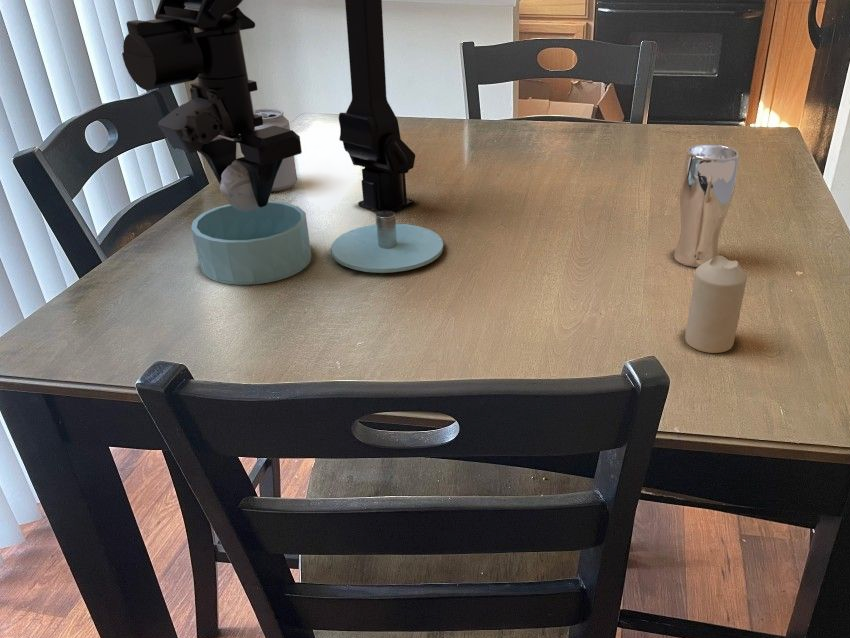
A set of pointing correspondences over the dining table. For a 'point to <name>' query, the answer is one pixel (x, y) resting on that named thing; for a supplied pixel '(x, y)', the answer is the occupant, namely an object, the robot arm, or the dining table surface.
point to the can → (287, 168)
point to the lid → (387, 246)
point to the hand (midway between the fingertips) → (246, 200)
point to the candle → (715, 305)
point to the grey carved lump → (238, 188)
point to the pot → (252, 243)
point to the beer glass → (705, 201)
